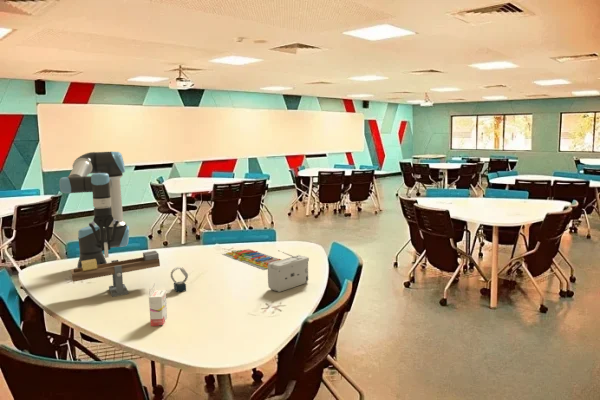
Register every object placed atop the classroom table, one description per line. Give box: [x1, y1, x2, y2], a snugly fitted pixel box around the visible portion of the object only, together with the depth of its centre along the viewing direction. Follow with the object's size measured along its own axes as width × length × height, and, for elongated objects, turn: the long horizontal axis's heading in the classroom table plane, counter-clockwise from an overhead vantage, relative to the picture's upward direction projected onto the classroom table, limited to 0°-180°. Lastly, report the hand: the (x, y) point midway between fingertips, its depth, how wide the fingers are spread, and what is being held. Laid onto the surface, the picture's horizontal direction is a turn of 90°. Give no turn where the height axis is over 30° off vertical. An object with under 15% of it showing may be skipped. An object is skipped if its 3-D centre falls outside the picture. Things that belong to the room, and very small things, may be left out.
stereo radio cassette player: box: [267, 250, 310, 293], centre depth 221 cm, size 21×8×20 cm, turn 135°
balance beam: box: [70, 250, 161, 283], centre depth 217 cm, size 9×38×6 cm, turn 119°
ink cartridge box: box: [148, 283, 168, 327], centre depth 181 cm, size 9×5×15 cm, turn 5°
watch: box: [170, 266, 189, 293], centre depth 219 cm, size 6×8×11 cm
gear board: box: [221, 248, 282, 271], centre depth 272 cm, size 45×2×19 cm
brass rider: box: [81, 259, 97, 272], centre depth 211 cm, size 6×6×5 cm
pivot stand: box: [108, 259, 129, 298], centre depth 218 cm, size 13×7×14 cm, turn 29°
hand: (106, 256), depth 215 cm, fingers closed
